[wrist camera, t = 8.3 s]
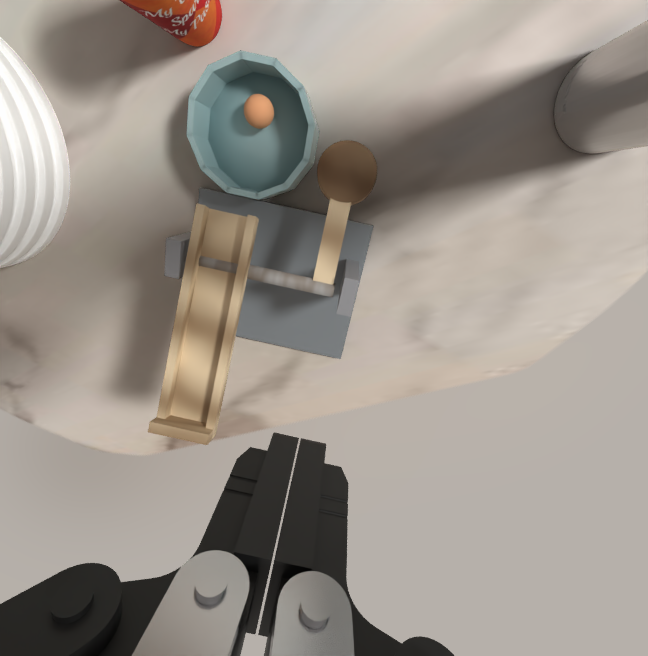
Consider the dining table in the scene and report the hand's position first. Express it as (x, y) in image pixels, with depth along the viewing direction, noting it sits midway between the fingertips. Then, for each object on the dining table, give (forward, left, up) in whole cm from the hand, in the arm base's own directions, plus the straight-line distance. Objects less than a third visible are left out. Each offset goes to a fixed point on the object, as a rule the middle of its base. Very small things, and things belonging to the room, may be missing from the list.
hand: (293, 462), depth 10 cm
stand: (+7, +5, -35) cm, 36 cm away
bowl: (+11, -11, -35) cm, 38 cm away
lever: (+6, +3, -26) cm, 27 cm away
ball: (+11, -13, -33) cm, 37 cm away
